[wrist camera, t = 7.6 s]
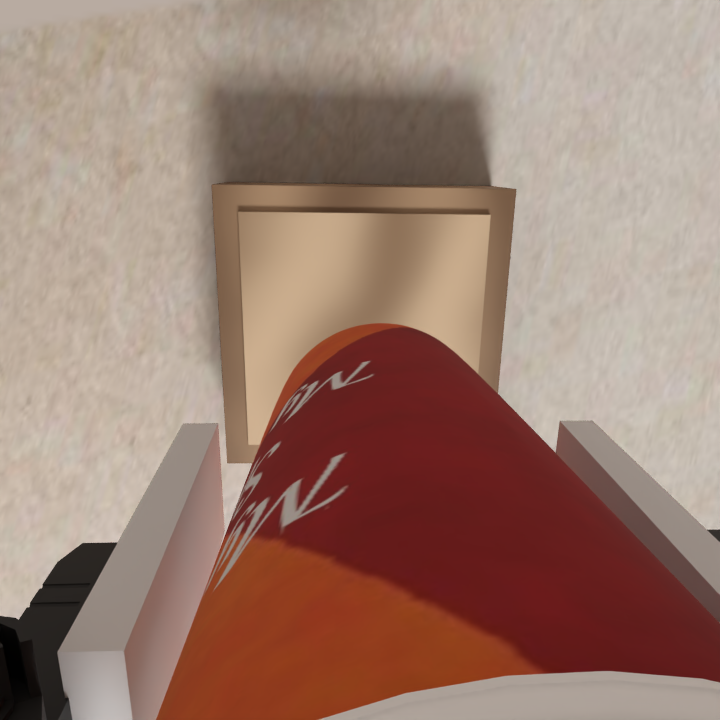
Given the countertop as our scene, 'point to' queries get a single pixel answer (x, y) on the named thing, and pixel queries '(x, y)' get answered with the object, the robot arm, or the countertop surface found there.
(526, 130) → the countertop surface
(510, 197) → the plinth
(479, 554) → the paper cup
